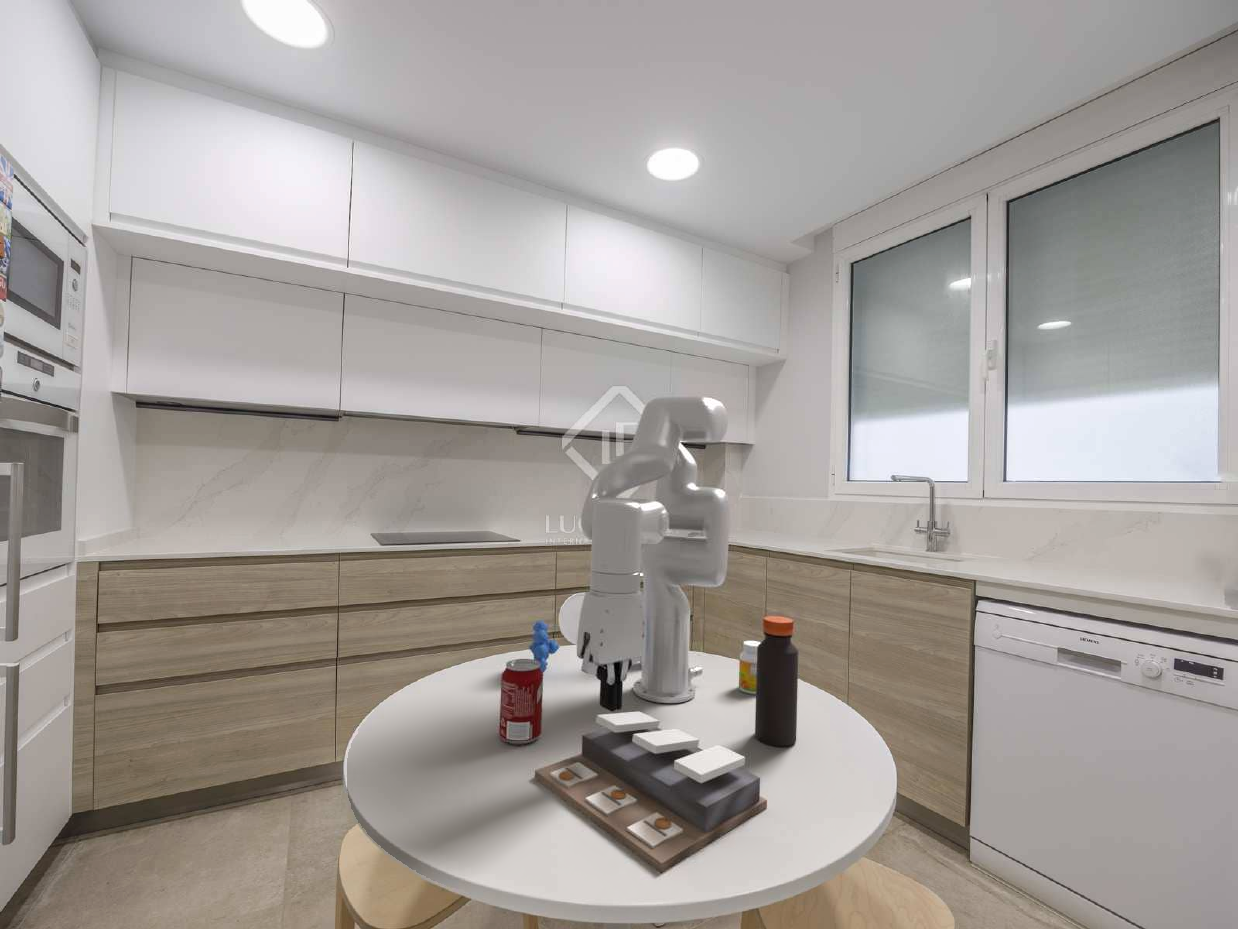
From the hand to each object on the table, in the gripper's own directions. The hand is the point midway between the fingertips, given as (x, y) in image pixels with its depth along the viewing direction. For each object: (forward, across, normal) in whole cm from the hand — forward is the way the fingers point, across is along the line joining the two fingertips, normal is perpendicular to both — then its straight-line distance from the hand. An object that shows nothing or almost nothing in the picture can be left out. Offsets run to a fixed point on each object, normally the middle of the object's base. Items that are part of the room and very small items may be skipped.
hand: (610, 707), depth 83 cm
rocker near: (+4, -4, +16) cm, 17 cm away
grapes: (+9, -15, -40) cm, 43 cm away
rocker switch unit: (+9, 0, +8) cm, 12 cm away
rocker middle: (+4, -4, +8) cm, 9 cm away
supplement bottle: (+9, -45, -7) cm, 47 cm away
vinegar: (+9, -29, +9) cm, 32 cm away
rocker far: (+3, -4, 0) cm, 5 cm away
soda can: (+9, +5, -17) cm, 20 cm away
